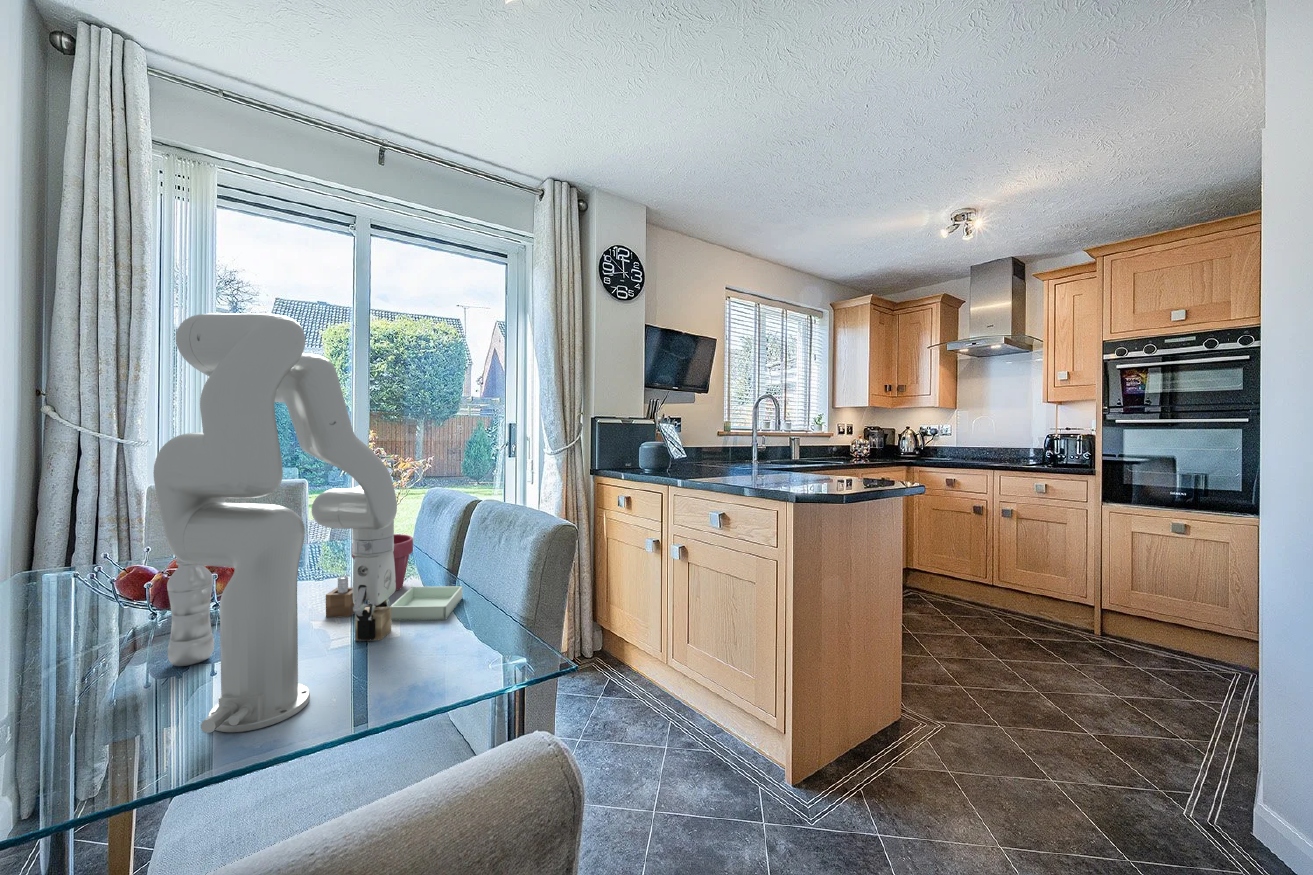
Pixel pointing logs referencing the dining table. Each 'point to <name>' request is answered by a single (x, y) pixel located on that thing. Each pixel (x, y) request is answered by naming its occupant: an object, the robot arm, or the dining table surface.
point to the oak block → (379, 622)
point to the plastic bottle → (190, 614)
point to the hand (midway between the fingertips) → (373, 631)
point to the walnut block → (339, 603)
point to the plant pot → (401, 557)
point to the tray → (426, 603)
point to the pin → (343, 585)
